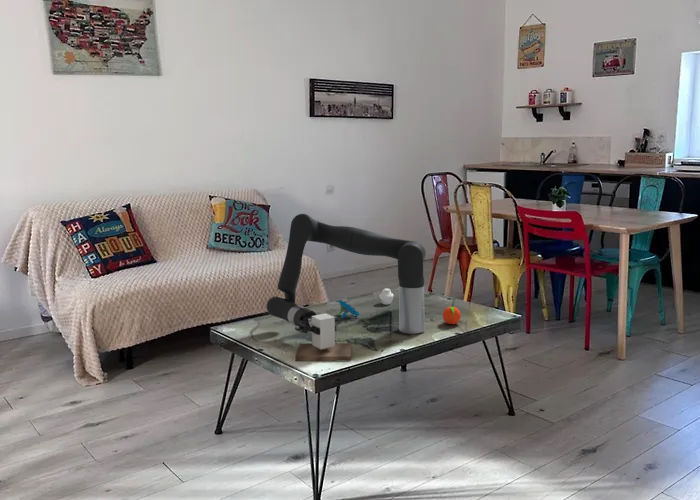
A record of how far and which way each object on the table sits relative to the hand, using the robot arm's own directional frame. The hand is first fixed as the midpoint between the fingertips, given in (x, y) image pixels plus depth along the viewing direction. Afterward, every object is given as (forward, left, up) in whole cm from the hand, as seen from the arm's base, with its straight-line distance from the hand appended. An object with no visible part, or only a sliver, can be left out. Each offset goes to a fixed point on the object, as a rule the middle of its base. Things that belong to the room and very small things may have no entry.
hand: (327, 330), depth 202 cm
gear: (-6, -46, -9) cm, 47 cm away
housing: (+2, -2, -6) cm, 7 cm away
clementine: (-46, -34, -9) cm, 58 cm away
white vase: (-22, -65, -9) cm, 69 cm away
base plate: (+1, -2, -9) cm, 9 cm away
